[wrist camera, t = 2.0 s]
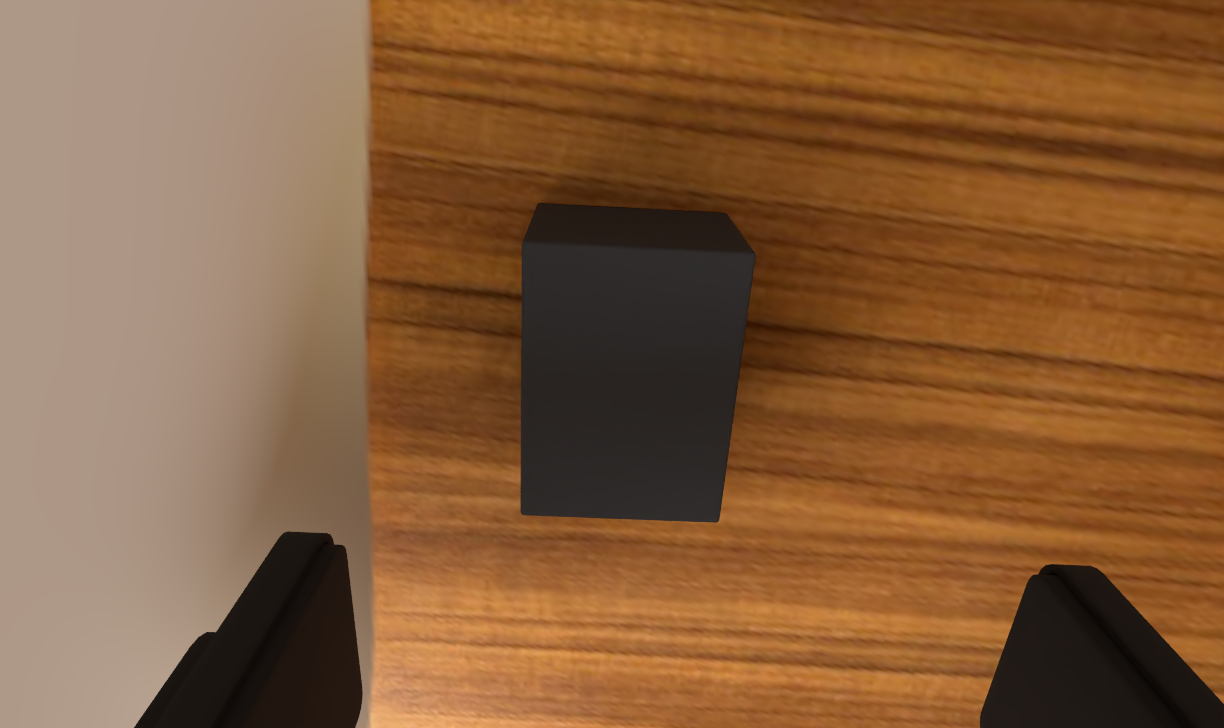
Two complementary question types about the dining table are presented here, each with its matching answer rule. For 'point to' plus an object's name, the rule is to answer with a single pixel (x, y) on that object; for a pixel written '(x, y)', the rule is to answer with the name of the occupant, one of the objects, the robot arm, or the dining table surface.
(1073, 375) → the dining table surface
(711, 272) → the black block
